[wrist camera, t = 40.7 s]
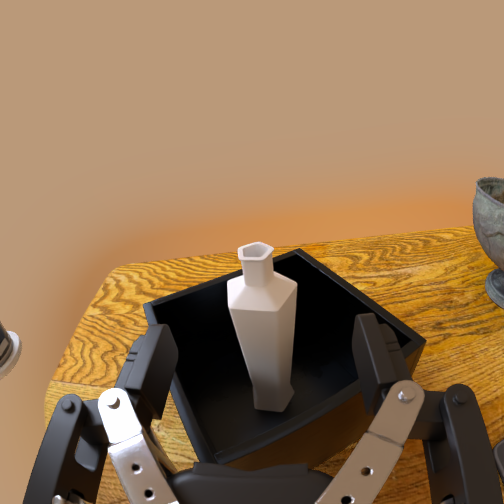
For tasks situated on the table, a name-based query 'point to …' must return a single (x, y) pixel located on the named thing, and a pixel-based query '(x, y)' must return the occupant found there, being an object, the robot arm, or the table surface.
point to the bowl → (491, 231)
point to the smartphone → (499, 458)
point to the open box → (302, 370)
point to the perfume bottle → (264, 325)
